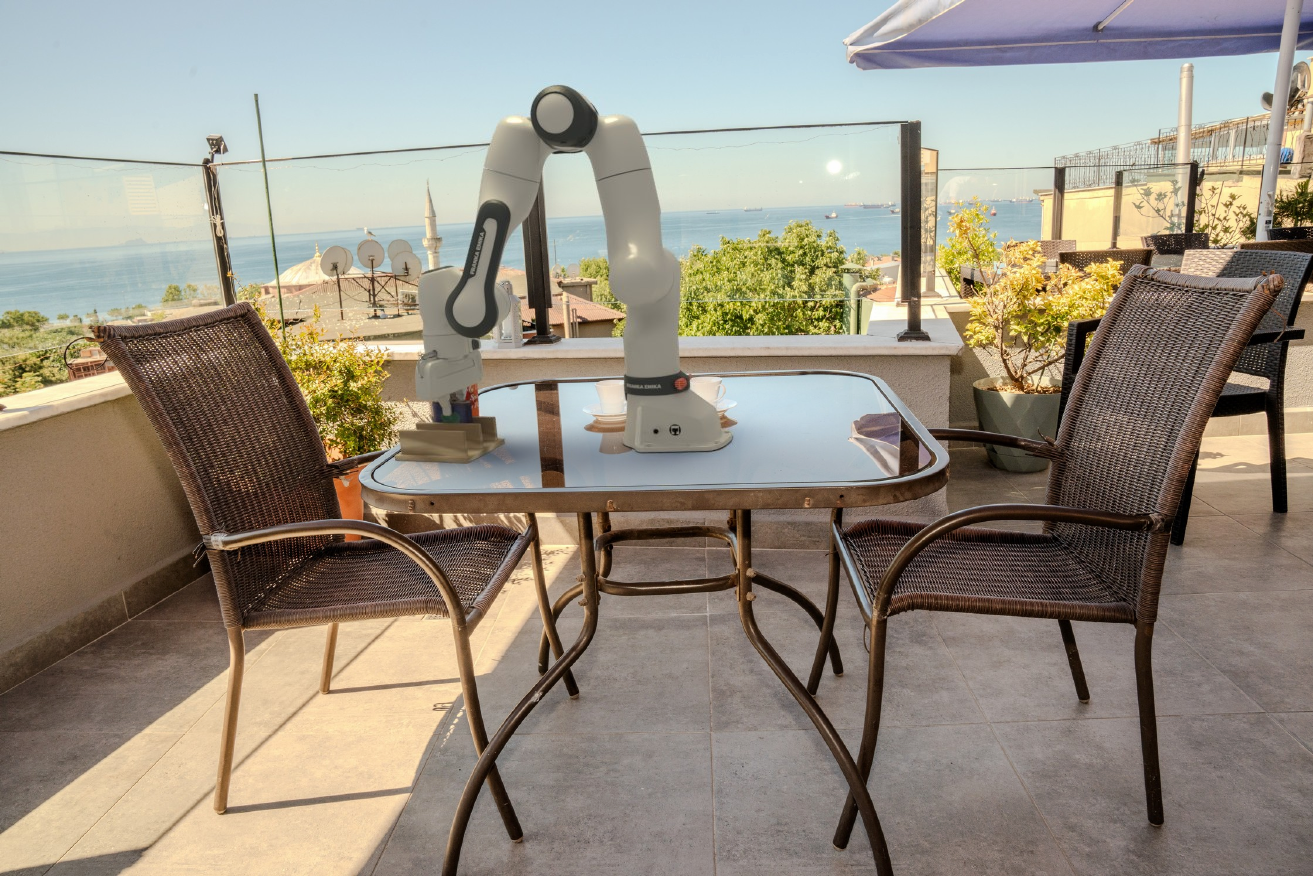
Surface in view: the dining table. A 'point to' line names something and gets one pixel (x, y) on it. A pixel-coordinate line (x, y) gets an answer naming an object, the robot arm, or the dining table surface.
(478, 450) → the rack
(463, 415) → the flask
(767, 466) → the dining table surface
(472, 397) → the paper cup
